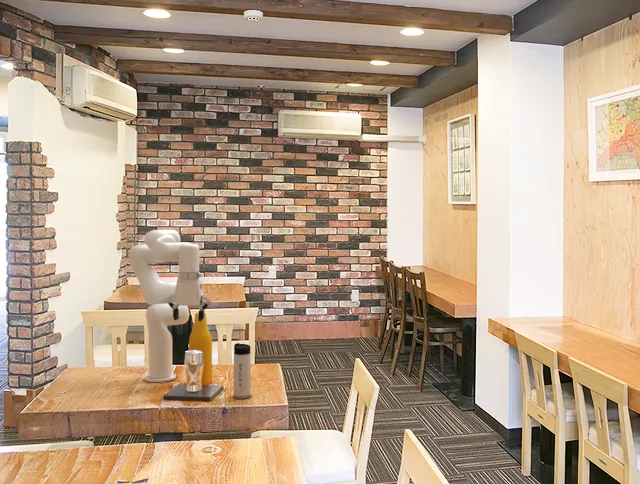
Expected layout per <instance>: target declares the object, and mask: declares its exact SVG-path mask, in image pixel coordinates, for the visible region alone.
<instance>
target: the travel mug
mask: <svg viewBox="0 0 640 484" xmlns="http://www.w3.org/2000/svg"><path fill="white" fill-rule="evenodd" d="M251 357H252V356H251V345H250V344H246V343H240V342H237V343H234V345H233V397H234V398H235V399H239V400H244V399H249V398H250V397H251V385H252V384H251V369H252V368H251V363H252V362H251V360H252V359H251Z"/></svg>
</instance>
